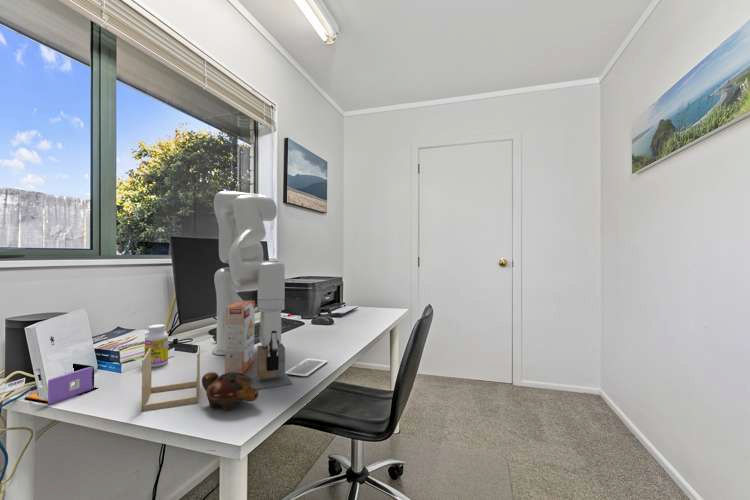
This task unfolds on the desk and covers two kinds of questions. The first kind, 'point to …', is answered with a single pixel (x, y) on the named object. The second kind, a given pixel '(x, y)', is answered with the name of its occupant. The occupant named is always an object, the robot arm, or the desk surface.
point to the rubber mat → (270, 382)
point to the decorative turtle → (228, 389)
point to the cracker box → (239, 336)
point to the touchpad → (306, 367)
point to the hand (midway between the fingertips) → (270, 366)
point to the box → (262, 362)
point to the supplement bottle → (157, 345)
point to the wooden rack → (165, 386)
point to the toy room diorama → (68, 385)
